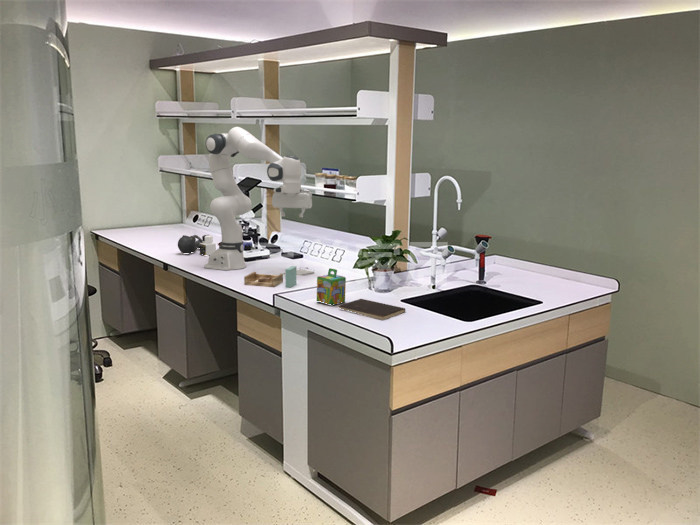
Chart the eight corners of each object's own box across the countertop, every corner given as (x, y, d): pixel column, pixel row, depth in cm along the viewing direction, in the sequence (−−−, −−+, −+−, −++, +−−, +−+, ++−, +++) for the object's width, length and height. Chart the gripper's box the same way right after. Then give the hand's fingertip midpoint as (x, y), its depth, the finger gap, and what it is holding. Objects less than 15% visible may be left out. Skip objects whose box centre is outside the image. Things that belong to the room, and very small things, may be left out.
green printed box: (316, 302, 269) (316, 269, 266) (330, 298, 276) (330, 266, 273) (331, 306, 263) (331, 272, 260) (346, 302, 270) (346, 269, 267)
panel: (291, 284, 299) (291, 266, 298) (296, 284, 299) (296, 266, 297) (285, 288, 292) (285, 269, 290) (290, 288, 291) (290, 269, 289)
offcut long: (254, 284, 296) (254, 281, 296) (257, 282, 300) (257, 279, 300) (267, 285, 295) (267, 282, 294) (270, 283, 298) (270, 280, 298)
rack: (244, 286, 296) (244, 276, 295) (254, 281, 306) (253, 271, 305) (274, 289, 292) (274, 278, 291) (282, 284, 302) (282, 274, 301)
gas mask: (208, 264, 389) (184, 251, 367) (196, 262, 392) (172, 250, 370) (213, 242, 392) (190, 228, 370) (202, 241, 396) (179, 227, 373)
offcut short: (258, 281, 295) (258, 278, 295) (260, 280, 299) (260, 277, 299) (268, 282, 295) (268, 279, 294) (270, 280, 298) (270, 277, 298)
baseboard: (253, 280, 313) (269, 284, 305) (253, 274, 312) (269, 278, 304) (298, 271, 335) (314, 274, 327) (298, 265, 335) (314, 269, 327)
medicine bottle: (199, 254, 374) (199, 235, 372) (210, 253, 379) (209, 233, 377) (205, 256, 369) (205, 236, 367) (216, 255, 374) (215, 235, 372)
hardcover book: (382, 321, 245) (382, 316, 244) (337, 310, 259) (337, 305, 258) (405, 313, 257) (405, 307, 256) (361, 303, 271) (361, 298, 271)
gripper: (314, 189, 308) (314, 217, 310) (275, 187, 313) (275, 215, 316) (309, 190, 302) (309, 218, 304) (270, 188, 307) (270, 216, 310)
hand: (292, 216), depth 310 cm, fingers open, 8 cm apart
